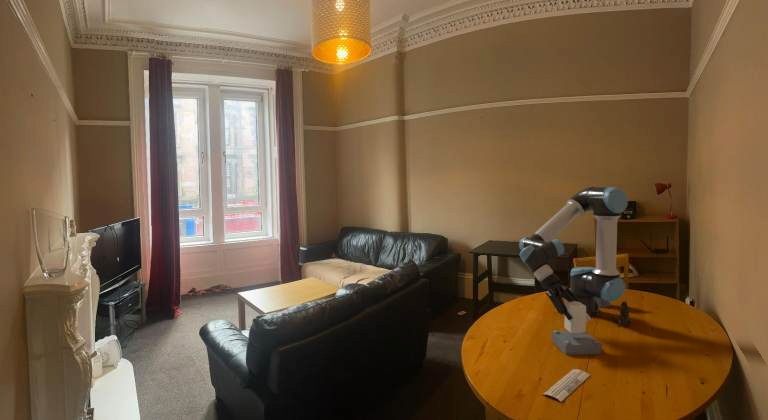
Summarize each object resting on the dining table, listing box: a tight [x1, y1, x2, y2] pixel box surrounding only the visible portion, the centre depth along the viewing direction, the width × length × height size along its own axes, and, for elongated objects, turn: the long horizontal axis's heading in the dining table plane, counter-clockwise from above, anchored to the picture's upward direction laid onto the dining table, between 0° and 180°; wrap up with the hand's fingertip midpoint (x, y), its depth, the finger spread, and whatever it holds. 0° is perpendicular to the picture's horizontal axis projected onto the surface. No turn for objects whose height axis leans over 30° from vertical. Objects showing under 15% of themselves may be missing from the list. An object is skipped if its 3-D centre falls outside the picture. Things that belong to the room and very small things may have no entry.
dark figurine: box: [611, 300, 632, 327], centre depth 193 cm, size 15×10×12 cm, turn 134°
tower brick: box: [563, 301, 587, 333], centre depth 168 cm, size 6×6×12 cm
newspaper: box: [542, 368, 591, 403], centre depth 139 cm, size 24×7×2 cm, turn 133°
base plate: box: [551, 330, 602, 356], centre depth 169 cm, size 14×14×5 cm
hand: (583, 323), depth 165 cm, fingers closed on tower brick, 8 cm apart
